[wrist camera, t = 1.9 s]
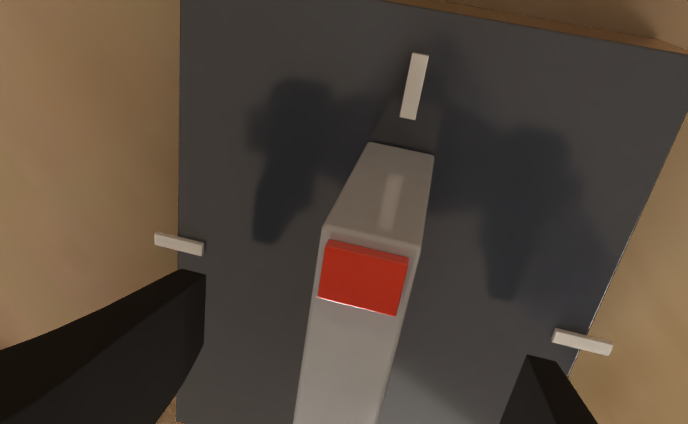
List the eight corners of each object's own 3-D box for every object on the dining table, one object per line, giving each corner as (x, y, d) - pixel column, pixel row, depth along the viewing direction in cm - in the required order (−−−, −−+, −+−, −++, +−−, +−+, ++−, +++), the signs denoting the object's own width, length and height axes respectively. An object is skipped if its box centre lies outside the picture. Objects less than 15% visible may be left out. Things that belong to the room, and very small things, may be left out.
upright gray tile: (374, 407, 16) (342, 571, 11) (322, 393, 16) (271, 549, 12) (435, 154, 12) (421, 255, 8) (367, 140, 12) (316, 231, 8)
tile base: (517, 443, 19) (526, 526, 16) (198, 358, 20) (156, 420, 18) (686, 44, 13) (749, 66, 10) (212, -40, 14) (150, -41, 11)
